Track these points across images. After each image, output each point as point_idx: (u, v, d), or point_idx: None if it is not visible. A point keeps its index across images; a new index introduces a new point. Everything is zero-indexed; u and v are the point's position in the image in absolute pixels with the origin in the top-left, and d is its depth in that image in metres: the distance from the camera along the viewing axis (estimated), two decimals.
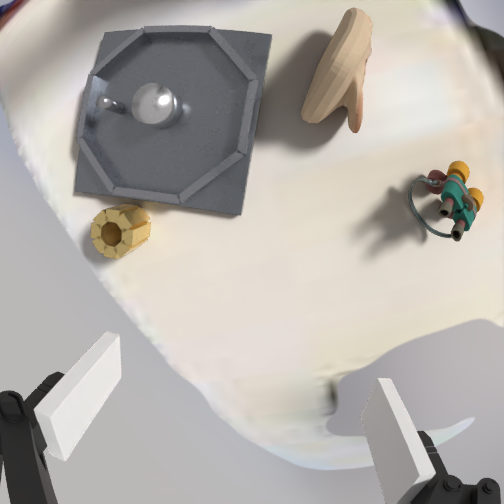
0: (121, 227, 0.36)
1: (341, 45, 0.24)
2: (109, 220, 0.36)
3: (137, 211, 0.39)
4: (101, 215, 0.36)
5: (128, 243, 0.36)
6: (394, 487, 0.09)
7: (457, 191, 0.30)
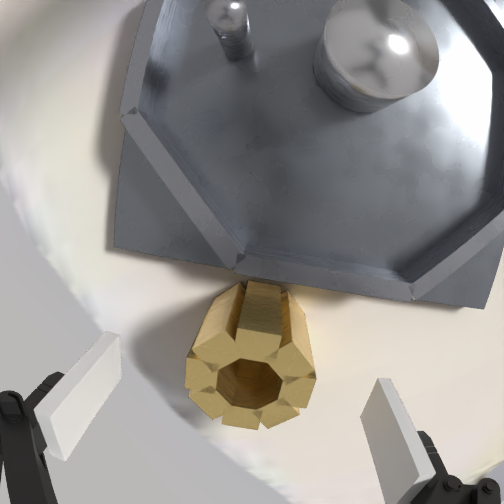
0: (282, 373, 0.14)
1: None
2: (246, 356, 0.14)
3: (292, 308, 0.17)
4: (220, 343, 0.13)
5: (297, 404, 0.14)
6: (394, 487, 0.09)
7: None
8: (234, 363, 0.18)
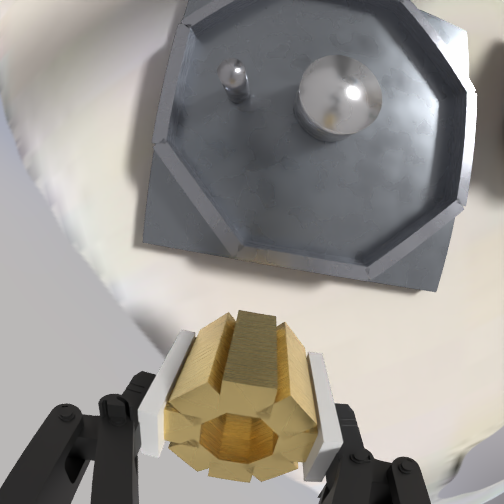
0: (278, 428, 0.11)
1: None
2: (234, 411, 0.10)
3: (290, 345, 0.14)
4: (202, 396, 0.10)
5: (295, 458, 0.11)
6: (309, 455, 0.11)
7: None
8: None
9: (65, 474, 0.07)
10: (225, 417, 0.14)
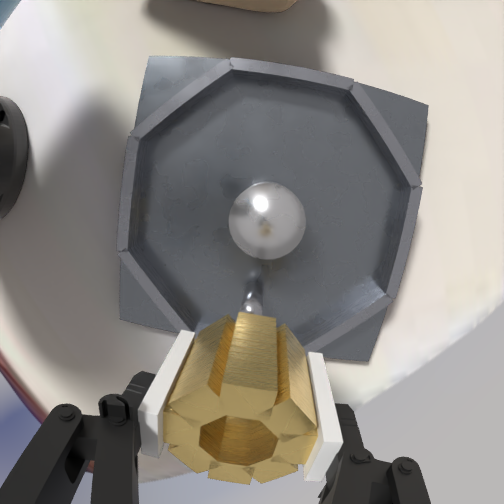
0: (278, 431, 0.11)
1: None
2: (234, 413, 0.10)
3: (290, 347, 0.14)
4: (201, 398, 0.10)
5: (295, 461, 0.11)
6: None
7: None
8: None
9: (65, 474, 0.07)
10: (225, 419, 0.14)
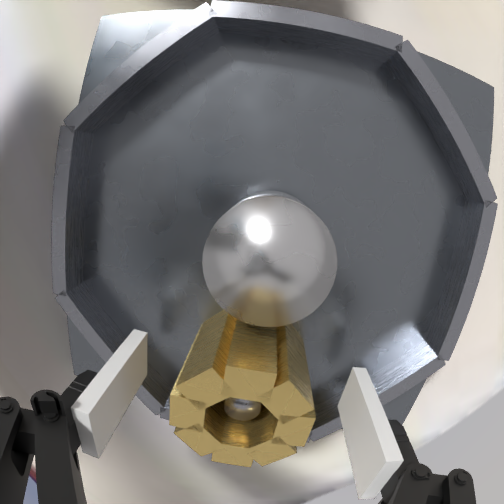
0: (277, 412, 0.12)
1: None
2: (236, 395, 0.12)
3: (289, 335, 0.15)
4: (207, 381, 0.11)
5: (294, 443, 0.12)
6: (364, 474, 0.10)
7: None
8: None
9: (13, 466, 0.06)
10: None
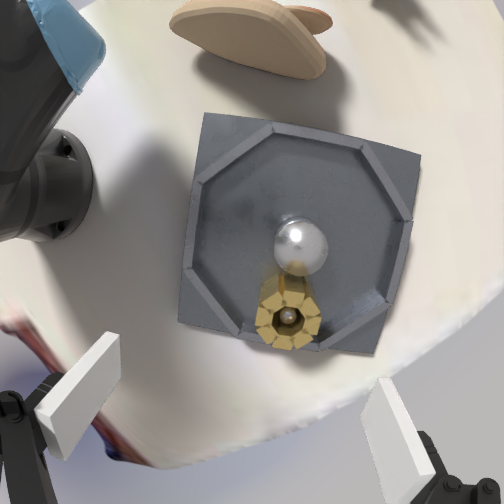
0: (305, 313, 0.29)
1: (249, 11, 0.20)
2: (287, 305, 0.29)
3: (308, 285, 0.33)
4: (275, 298, 0.29)
5: (312, 332, 0.29)
6: (394, 487, 0.09)
7: None
8: (276, 317, 0.33)
9: None
10: (278, 321, 0.32)
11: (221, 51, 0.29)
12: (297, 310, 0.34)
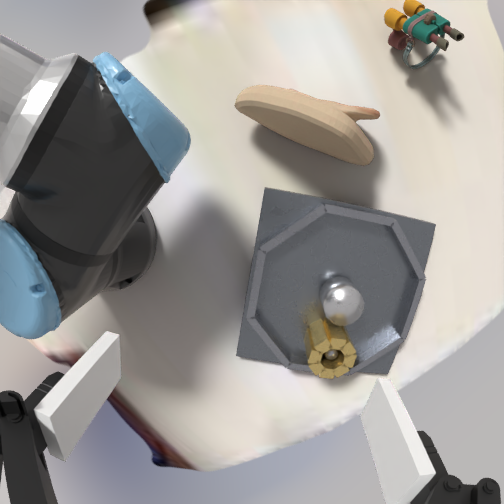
0: (345, 353, 0.37)
1: (324, 124, 0.27)
2: (333, 348, 0.37)
3: (344, 328, 0.41)
4: (325, 343, 0.37)
5: (349, 366, 0.38)
6: (394, 487, 0.09)
7: (423, 27, 0.26)
8: None
9: None
10: (321, 356, 0.41)
11: (280, 131, 0.37)
12: None
